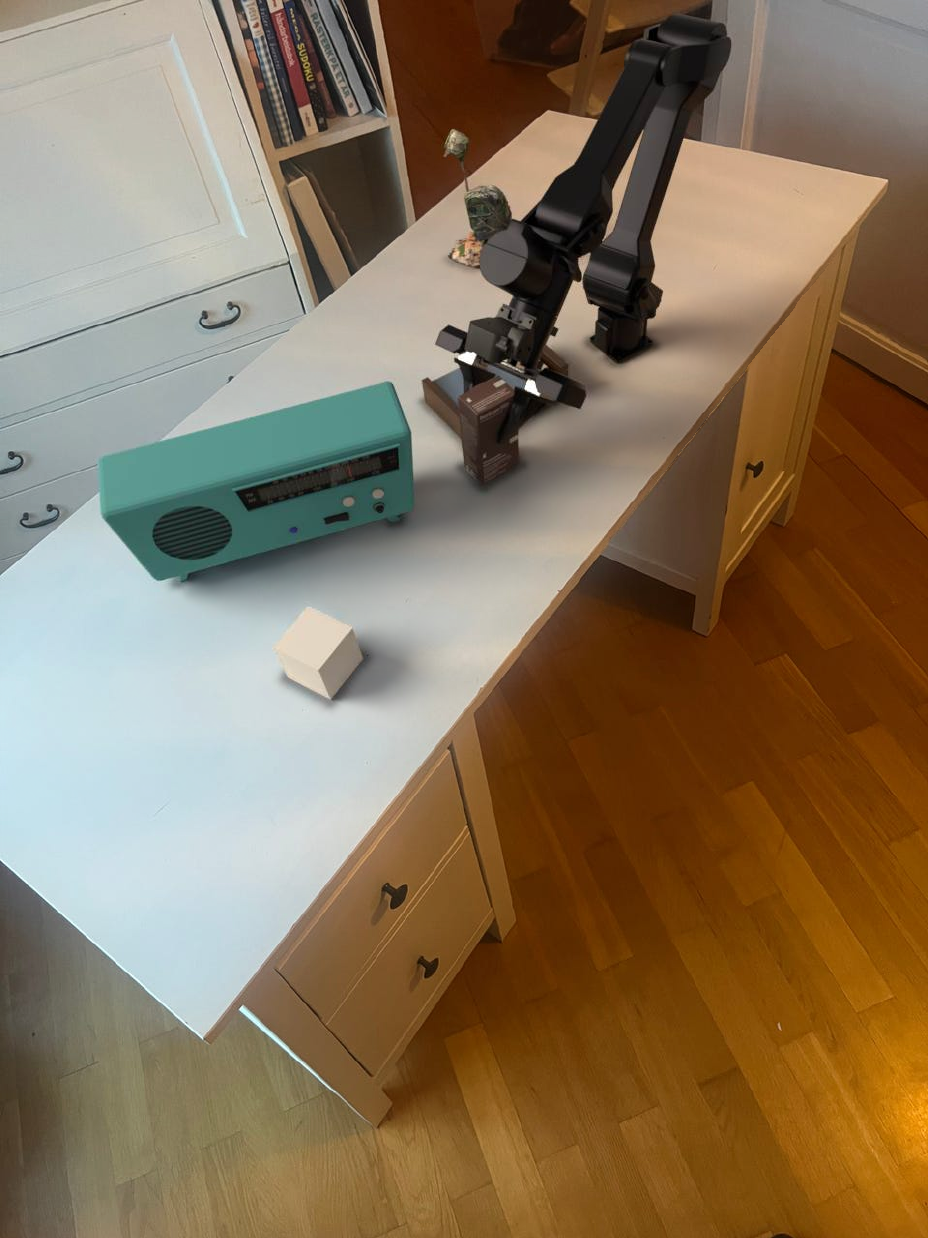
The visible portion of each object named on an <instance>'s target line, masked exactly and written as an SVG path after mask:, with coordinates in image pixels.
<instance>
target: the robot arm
mask: <svg viewBox="0 0 928 1238" xmlns="http://www.w3.org/2000/svg"><path fill="white" fill-rule="evenodd" d="M731 52H732V39H731V37H730V36H728V29H727V26H726V25H725V24H724V23H723V22H719V21H715V20H710V19H705V18H700V17H696V16H690V15H687V14H681V13H678V12H677V13H675V12H674V13H671V14H670V15H669V16H668V17H667V18H666V19H665V21H662V22H660V23H657V24H655V25H651V26H649V27H647V28H645V29H644V31H643V37H641V38H639V39H636V40H634V41H632V42H631V44H630V45H629V47H628V48H627V52H626V54H625V57H624V62H623V69H622V71H621V73H620V75H619V77H618V79H617V81H616V83H615V85H614V87H613V89H612V90H611V93H610V95H609V97H608V98H607V99H606V100H607V101H606V103H605V104H604V106H603V108H602V111H601V112H600V114H599V116H598V118H597V120H596V122H595V124H594V125H593V128H592V130H591V132H590V134H589V136H588V137H587V140H586V141H585V144H584V145H583V147H582V149H581V151H580V153H579V155H578V157H577V158H576V160H575V162H574V163H573V164H572V165H571V166H570V167H568V168H567V169H565V170H564V171H562V172H561V173H559V174H558V175H556V176H555V177H554V179H553V180H552V181H551V183H550V185H549V186H548V188H547V190H546V191H545V193H544V194H543V195H542V197H541V199H540V200H539V201H538V202H537V203H535V205H534V206H533V207H532V208H531V210H529V212H527V214H525V216H524V217H523V218H521V220H518V219H515V218H512V219H511V221H510V224H509V226H508V229H506V230H502V231H499V232H497V233H496V234H494V235H493V236H492V237H491V238H490V239H489V240H488V241H487V243H485V244H484V245H483V248H482V250H481V254H480V260H479V265H478V266H479V271H480V273H481V275H482V277H483V278H484V280H485V281H486V282H488V283H489V284H491V285H492V286H494V287H496V288H498V289H500V290H501V291H504V292H505V293H506V294H509V295H511V296H512V297H511V299H510V301H509V304H506V303H502V305H501V306H500V307H499V309H498V310H497V314H496V315H495V317H491V316H489V317H488V316H487V317H482V318H478V319H473V320H470V321H469V323H468V328H467V331H465V330H463V329H461V328H458V327H456V326H453V325H451V324H447V325H446V326H444V327H443V328H442V329H440V331H439V332H438V335H437V338H436V340H435V342H434V345H435V346H436V347H439V348H441V349H442V350H445V351H448V352H450V353H452V354H458V357H453V362H454V363H455V364H457V365H458V366H459V367H458V368H460V369H461V372H462V375H463V384H464V393H466V392H468V391H470V390H471V389H472V388H473V387H475V386H476V385H478V384H481V383H484V382H486V381H488V380H490V379H492V378H494V377H495V375H496V374H494V373H492V372H490V371H488V367H489V365H492V366H494V367H496V368H498V369H500V370H502V371H505V372H507V373H509V374H511V375H513V376H516V377H518V378H520V379H522V380H524V381H526V382H527V383H526V386H525V388H524V389H523V388H520V387H517V386H515V388H514V401H513V404H512V406H511V408H510V410H509V412H508V415H507V417H506V419H505V421H504V423H503V425H502V428H501V430H500V432H499V436H498V439H497V443H498V444H501V445H502V444H504V443H505V442H506V441H507V440H508V439H509V438H510V437H511V436H512V435H513V434H514V433H515V432H516V431H517V430H518V431H519V430H520V429H521V427H523V426H524V425H525V424H526V423H527V422H528V421H529V420H531V418H532V417H534V416H535V415H536V414H538V413H539V412H540V411H541V410H543V409H544V408H546V407H548V406H552V407H555V406H556V404H557V402H558V403H560V404H562V405H566V406H569V407H571V408H574V409H577V410H581V409H582V407H583V405H584V402H585V400H586V398H587V388H586V384H585V383H582V382H579V381H578V380H576V379H573V378H571V377H566V376H564V375H562V374H560V373H557V372H555V371H552V370H550V369H547V368H544V369H543V370H542V371H540V370H541V369H542V367H543V364H544V362H542V361H540V358H541V356H542V353H543V351H544V348H545V346H546V345H548V341H549V339H550V337H551V336H552V337H554V338H555V337H556V336H557V334H558V332H559V327H556V326H555V325H556V322H557V321H558V317H559V315H560V313H561V311H562V308H563V306H564V303H565V301H566V299H567V296H568V295H569V291H570V289H571V287H572V285H573V282H576V283H581V282H582V289H583V291H584V294H585V295H584V296H585V299H586V301H587V304H588V305H591V306H592V305H593V306H595V307H598V308H597V319H596V320H595V322H594V323H595V324H594V334H593V335H591V336H590V337H589V342H590V343H591V344H592V345H593V346H594V347H595V348H597V349H598V350H599V351H601V352H602V353H603V354H604V355H606V356H607V357H608V358H609V359H611V360H612V361H613V362H614V363H615V364H620V363H622V362H624V361H626V360H628V359H630V358H631V357H633V356H635V355H638V354H639V353H641V352H643V351H645V350H647V349H649V348H651V347H652V346H653V345H654V340H653V339H652V338H651V337H649V336H648V335H647V330H648V321H649V320H652V319H654V318H656V317H657V309H659V308H660V305H661V303H662V298H663V293H664V289H662V288H661V287H659V286H658V285H656V284H655V283H653V282H652V281H653V277H654V273H655V270H656V261H655V257H654V252H653V251H654V250H653V247H652V238H653V234H654V231H655V228H656V224H657V222H658V218H659V216H660V212H661V209H662V206H663V203H664V200H665V197H666V194H667V190H668V188H669V185H670V181H671V179H672V175H673V173H674V170H675V166H676V163H677V160H678V158H679V157H678V156H679V153H680V151H681V147H682V144H683V141H684V138H685V135H686V132H687V129H688V126H689V123H690V120H691V117H692V114H693V112H694V111H695V110H696V109H697V108H698V107H699V106H700V105H701V104H702V103H703V102H704V101H705V100H706V99H707V98H708V97H709V96H710V95H711V94H712V93H713V92H714V90H715V88H716V85H717V83H718V81H719V78H720V76H721V73H722V72H723V71H724V69H725V68H726V66H727V64H728V63H729V60H730V55H731ZM640 136H641V137H640ZM639 139H640V140H639ZM638 140H639V143H638V146H637V151H636V154H635V157H634V161H633V163H632V168H631V170H630V174H629V177H628V181H627V184H626V187H625V190H624V194H623V197H622V200H621V204H620V207H619V209H618V213H617V217H616V220H615V223H614V227H613V229H612V232H610V233H609V234H608V235H607V236H606V233H607V230H608V225H609V222H610V220H611V218H612V216H613V213H614V205H613V204H614V203H613V190H614V188H615V185H616V183H617V182H618V179H619V177H620V175H621V174H622V171H623V169H624V168H625V165H626V164H627V161H628V160H629V158H630V156H631V153H632V152H633V150H634V148H635V146H636V144H637V142H638ZM605 236H606V237H605ZM588 254H589V258H588V262H587V264H586V268H585V270H584V271H583V274H582V270H581V268H580V264H579V259H580V258H582V257H584V256H586V255H588ZM507 359H508V360H507ZM503 360H507V362H505V361H503ZM518 362H520V365H521V366H523V367H525V368H524V370H523V369H521V368H519V367H516V365H517V363H518ZM537 369H538V370H537ZM554 400H555V401H556V402H555V401H554ZM548 404H549V405H548ZM547 405H548V406H547ZM545 406H546V407H545Z"/></svg>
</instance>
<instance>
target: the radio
mask: <svg viewBox="0 0 928 1238" xmlns="http://www.w3.org/2000/svg"><path fill="white" fill-rule="evenodd" d="M413 462H414V461H413V441H412V430H411V428H410V424H409V423H408V420H407V417H406V415H405V412H404V409H403V406H402V404H401V401H400V398H399V396H398V392H397V390H396V388H395V385H394V383H393V382H391V381H383V382H380V383H375V384H372V385H368V386H364V387H360V388H357V389H353V390H349V391H344V392H341V393H338V394H333V395H330V396H326V397H321V398H319V399H315V400H311V401H307V402H304V403H299V404H295V405H292V406H289V407H285V408H281V409H277V410H273V411H270V412H266V413H262V414H258V415H255V416H251V417H247V418H243V419H238V420H236V421H232V422H228V423H224V424H221V425H217V426H213V427H208V428H206V429H205V428H204V429H201V430H198V431H193V432H190V433H187V434H183V435H182V434H181V435H179V436H175V437H171V438H168V439H167V438H166V439H164V440H160V441H156V442H153V443H148V444H144V445H141V446H137V447H133V448H128V449H125V450H123V451H122V450H121V451H118V452H114V453H111V454H108V455H103V456H100V457H99V458H98V461H97V475H98V491H99V494H98V495H99V509H100V515H101V518H102V519H103V521H104V522H105V523H106V524H107V526H108V527H109V528H110V529H111V530H112V532H113V533H114V534H115V535H116V536H117V537H118V538H119V540H120V541H121V542H122V543H123V545H124V546H125V547H126V548H127V549H128V550H129V552H130V553H131V554H132V555H133V556H134V557H135V559H136V560H137V561H138V562H139V564H141V566H142V567H143V568H144V570H146V572H147V573H148V574H149V575H150V576H151V578H152V579H154V580H155V581H157V582H161V581H166V580H169V579H172V578H177V577H178V579H179V580H178V581H179V582H183V581H186V580H187V579H188V575H189V574H190V573H193V572H197V571H201V570H204V569H205V570H206V569H208V568H212V567H215V566H220V565H222V564H226V563H229V562H233V561H237V560H240V559H244V558H248V557H251V556H255V555H259V554H262V553H266V552H270V551H273V550H277V549H279V548H284V547H287V546H291V545H295V544H299V543H302V542H305V541H309V540H313V539H316V538H320V537H323V536H326V535H331V534H334V533H337V532H341V531H344V530H348V529H352V528H356V527H360V526H362V525H363V526H364V525H366V524H370V523H374V522H377V521H381V520H384V519H386V520H387V519H388V520H389V521H391V522H392V523H394V522H399V521H400V517H399V516H398V515H402V514H406V513H409V512H411V511H413V510H414V508H415V486H414V484H415V483H414V463H413Z"/></svg>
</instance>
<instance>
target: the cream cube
mask: <svg viewBox="0 0 928 1238" xmlns="http://www.w3.org/2000/svg"><path fill="white" fill-rule="evenodd" d="M272 649H273V650H274V652H275V655H276V656H277V658H278V660H279V662H280V665H281V667H282V669H283V670H284V673H285V674H286V677H287V678H289V679H291V680H292V681H294V682H296V683H298V684H300V685H301V686H304V687H305V688H307V689H309V690H311V691H313V692H315V693H317V694H319V695H320V696H322V697H325V698H326V699H328V700H330V701H332V699H333V698H334V697H335V695H336V694H337V693H338V691H339V690H340V689H341V688H342V686H343V685H344V684H345V682H346V681H347V680H348V678H349V677H350V676H351V675H352V673H353V672H354V671H355V670H356V668H357V667H358V666H359V665H360V663H361V662H362V661H363V659H364V657H363V654H362V651H361V649H360V646H359V642H358V639H357V637H356V634H355V631H354V628H353V627H352V626H350V625H348V624H346V623H344V622H341V621H340V620H338V619H336V618H333V617H331V616H329V615H327V614H325V613H323V612H321V611H319V610H317V609H315V608H314V607H311V606H309V605H307V606H306V607H305V609H304V610H303V611H302V612H301V613H300V614H299V616H297V618H296V619H295V621H294V622H293V623H291V625H290V626H289V627H288V629H287V630H286V631H284V633H283V634H282V636H281V637H280V638H279V639H278V640H277V641H276V643H275V644H274V645H273V646H272Z"/></svg>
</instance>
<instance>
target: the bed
mask: <svg viewBox="0 0 928 1238" xmlns="http://www.w3.org/2000/svg"><path fill="white" fill-rule="evenodd" d="M507 360H508V359H507ZM507 360H503V361H505V362H507ZM540 361H542V362H544V364H543V367H542V369H541V370H540V371H542V370H543V369H544V368H547V369H550V370H552V371H555V372H557V373H560V374H562V375H564V376H566V377H569V376H570V375H569V373H570V372H569V371H570V369H569V363H568V362H567V361H566V360H565V359H564V358H562V357H561V356H560V355H559V354H558V353H557V352H556V351H554V350H553V349H552V348H551V347H549V345H548V344H546V346H545V348H544V351H543V353H542V356H541V358H540ZM516 367H519V368H521V369H523V370H524V368H525V367H523V366H521V365H520V362H518V363H517V365H516ZM537 370H538V369H537ZM488 371H490V372H492V373H494V374H496V375H495V377H496V376H499V377H501V378H502V379H503V380H504V381H505V382H506V383H507V384H508V385H509V386H510V387H512V388H513V389H514V388H515V386H517V387H520V388H523V389H524V388H525V386H526V383H527V382H526V381H524V380H522V379H520V378H518V377H516V376H513V375H511V374H509V373H507V372H505V371H502V370H500V369H498V368H496V367H494V366H492V365H489V367H488ZM569 378H570V377H569ZM421 384H422V391H423V396H424V403H425V404H426V405H427V406H428V407H429V408H430V409H431V410H432V411H433V412H434V413H435V414H436V415H437V417H439V418H440V419H441V420H442V421H443V423H445V424H446V425H447V427H449V428H450V429H451V430H452V432H453V433H455V435H456V436H457V437H458V438H459V439H460V440H461V441H462V438H461V427H460V417H459V407H458V398H457V397H458V396H460V395H462V394H464V384H463V375H462V372H461V369H460V367H458V368H456V369H453V370H452V371H450V372H448V373H446V374H444V375H441V376H440V377H437V378H435V379H433V380H431V379H430V377H429V376H428V377H425V378H423V379H421ZM554 401H555V400H554ZM555 402H556V403H557V401H555ZM549 406H550V405H549V404H548V405H547V406H545V407H544V408H546V407H549Z"/></svg>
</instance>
